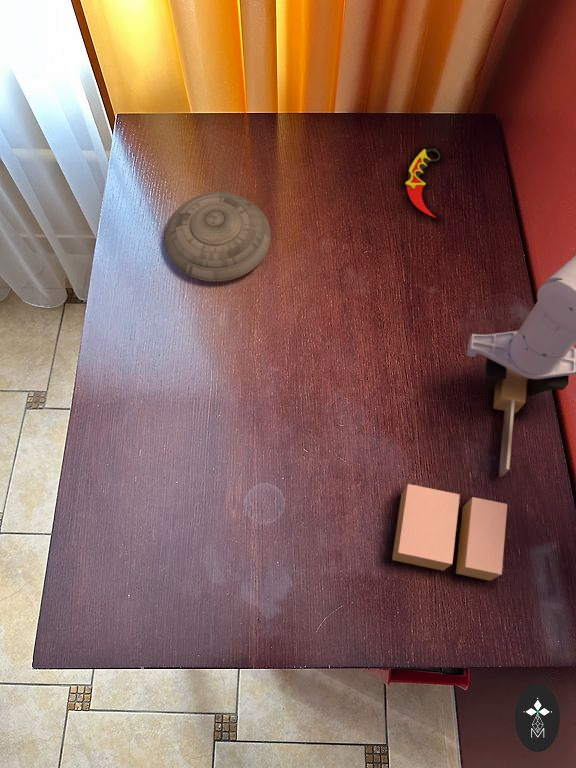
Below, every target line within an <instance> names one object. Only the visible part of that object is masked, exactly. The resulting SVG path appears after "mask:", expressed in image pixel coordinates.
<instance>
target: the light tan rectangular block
mask: <svg viewBox="0 0 576 768" xmlns="http://www.w3.org/2000/svg"><path fill="white" fill-rule="evenodd" d="M507 513H508V503H504V502H500V501H495V500H490V499H484V498H479V497H474V496H472V497H471V498H469V500H468V501H467V502H466V503H465V504H464V505H463V506H462V512H461V521H460V531H459V539H458V540H459V541H458V549H457V557H456V558H457V559H456V566H455V567H456V568H455V574H456V575H462V576H466V577H471V578H475V579H480V580H484V581H492V580H494V579H496V578H497V577H500V576H502V575H503V564H504V552H505V551H504V550H505V539H506V528H507V527H506V526H507V515H508V514H507Z"/></svg>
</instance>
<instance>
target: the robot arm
mask: <svg viewBox="0 0 576 768" xmlns="http://www.w3.org/2000/svg"><path fill="white" fill-rule="evenodd" d="M536 299H537V301H536V303H535V305H534V306H533V308H532V309H531V310H530V312H529V314H528V315H527V317H526V318H525V320H524V321H523V323H522V324H521V326H520V327H519V329H518V330H514V331H513V330H512V331H506V332H497V333H490V334H477V333H471V336H470V337H469V339H468V340H467V341H468V342H467V348H466V356H467V357H472V358H476V356H477V355H478V354H479V355H482V356H483V357H486V361H485V362H486V363H485V374H486V377H487V389H488V390H489V389H490V390H495V387H496V385H497V384H498V382H500V381H501V380H503V379H506V371H507V368H508V369H510V370H512V371H514V372H516V373H518V374H520V375H522V376H524V377H527V388H526V397H534V396H536V395H538V394H541V393H543V392H548V391H554V390H555V391H556V390H559V391H563V390H565V389H566V388H567V386H568V385H569V380H570V379H569V377H570V376H573V375H576V348H575V345H576V253H575V254H574V256H573V257H572V258H571V259H570V260H569V261H567V262H566V263H565V264H564V265H562V266H561V267H560V268H559V269H558V270H557V271H555V272H554V273H553V274H552V275H551V276H550V277H548V278H547V279H546V280H545V281H544V282H543V283H542V285H541V286H539V288H538V289H537V294H536Z"/></svg>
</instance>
